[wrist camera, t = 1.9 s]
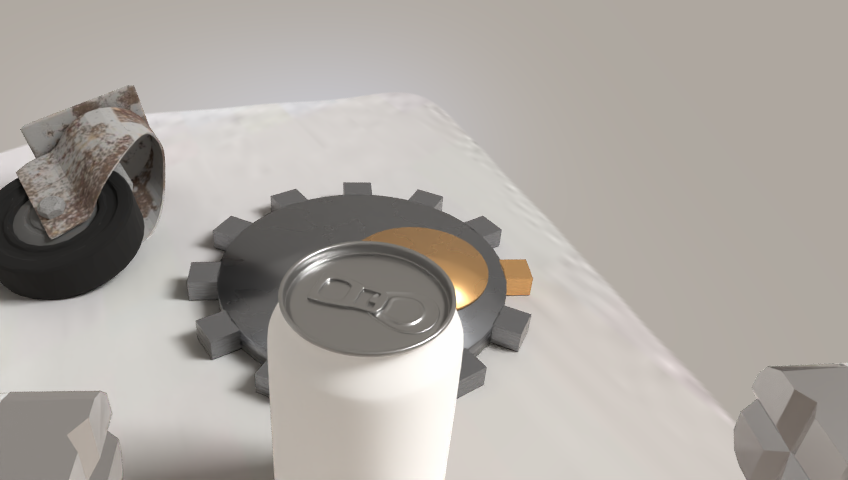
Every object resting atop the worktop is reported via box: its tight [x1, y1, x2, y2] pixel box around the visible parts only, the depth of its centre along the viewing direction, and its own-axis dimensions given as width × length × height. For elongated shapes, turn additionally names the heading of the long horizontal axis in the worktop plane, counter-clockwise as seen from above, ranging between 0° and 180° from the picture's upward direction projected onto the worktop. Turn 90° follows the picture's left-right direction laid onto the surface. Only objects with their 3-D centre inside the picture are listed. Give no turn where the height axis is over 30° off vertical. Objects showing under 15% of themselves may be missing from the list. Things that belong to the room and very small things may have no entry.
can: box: [267, 241, 463, 480], centre depth 27 cm, size 6×6×12 cm
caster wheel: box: [0, 85, 165, 299], centre depth 43 cm, size 7×11×10 cm
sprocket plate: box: [187, 183, 533, 399], centre depth 43 cm, size 19×19×1 cm
